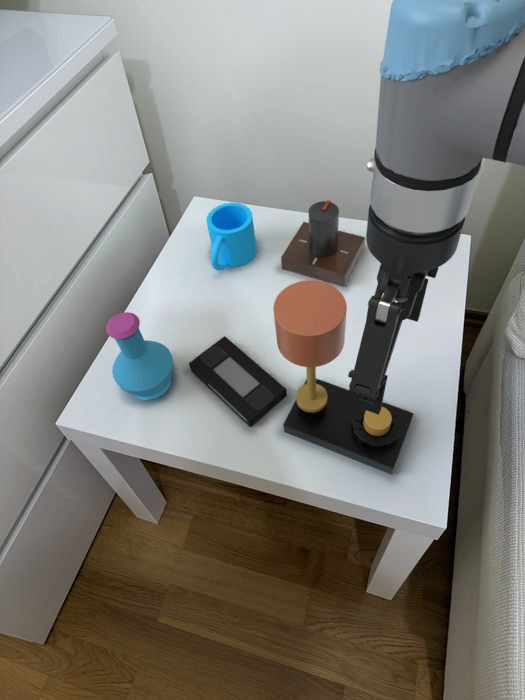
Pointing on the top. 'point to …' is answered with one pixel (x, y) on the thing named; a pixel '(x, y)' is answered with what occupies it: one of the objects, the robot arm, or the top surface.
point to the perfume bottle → (139, 359)
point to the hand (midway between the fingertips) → (388, 359)
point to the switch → (377, 422)
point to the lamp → (310, 333)
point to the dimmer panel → (325, 267)
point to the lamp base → (350, 429)
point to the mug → (231, 235)
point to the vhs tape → (238, 380)
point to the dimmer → (323, 228)
